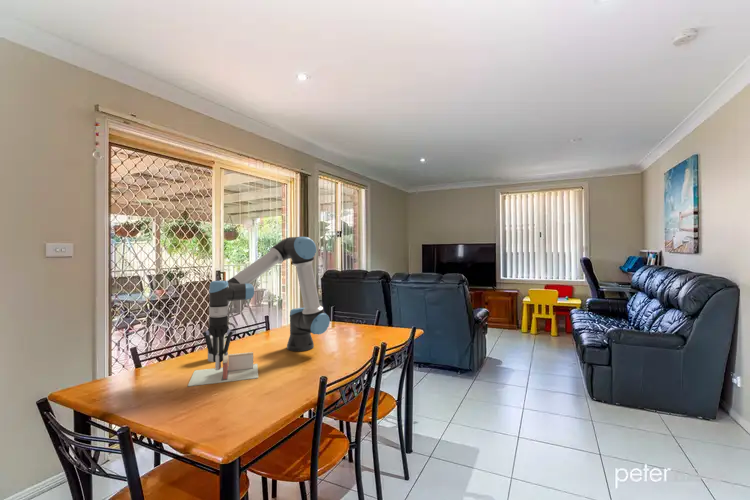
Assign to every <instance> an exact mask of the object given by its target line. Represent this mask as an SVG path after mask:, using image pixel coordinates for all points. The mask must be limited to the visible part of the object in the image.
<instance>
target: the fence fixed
mask: <svg viewBox="0 0 750 500" xmlns="http://www.w3.org/2000/svg"><path fill="white" fill-rule="evenodd" d="M225 355H228V371H233V370H242V369H251V368H253V364H254V352H253V351H249V352H240V353H239V352H238V353H229V352H228V351H227V352H226V353H225V354H224V356H225Z"/></svg>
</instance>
